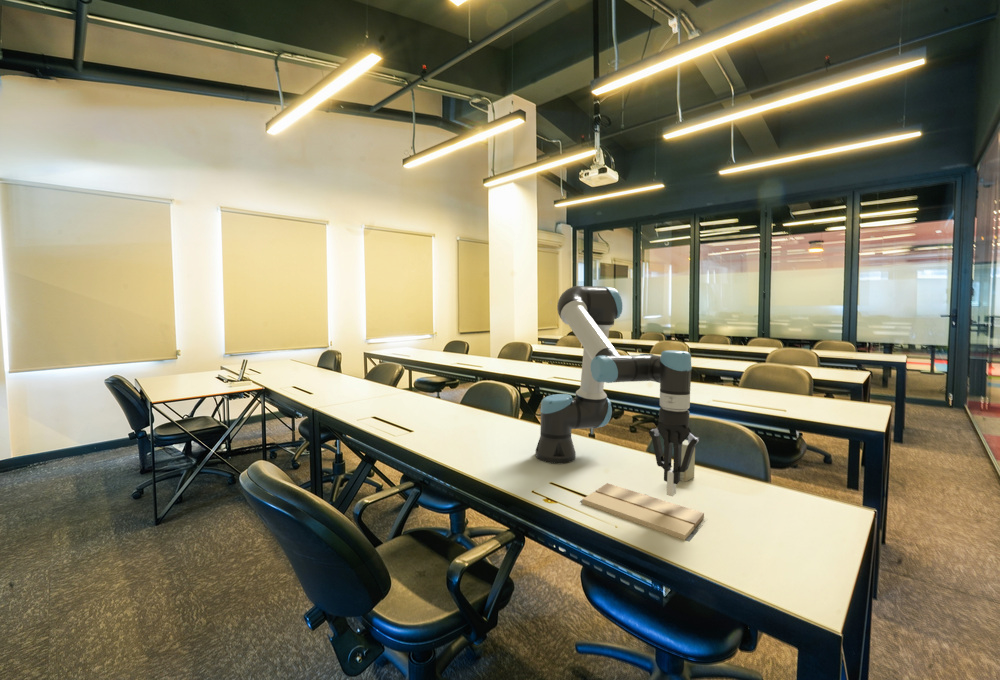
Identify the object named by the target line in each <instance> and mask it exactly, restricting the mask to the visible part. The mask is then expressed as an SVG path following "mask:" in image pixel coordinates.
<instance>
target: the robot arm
mask: <svg viewBox="0 0 1000 680" xmlns="http://www.w3.org/2000/svg"><path fill="white" fill-rule="evenodd" d="M556 309H557V314H558V316H559V318H560V319H561V321H562V323H564V324H565V325H568V326H569V328H570V330H571V331H572V332H573V334H574V335H575V336H576V338H577V340H578V341H579V343H580V344H581V346H582V347H583V353H582V364H581V365H582V366H581V374H580V378H581V379H580V387H579V389H577V390H576V391H575V397H572V395H571V394H567V393H557V394H550V395H547V396H545V397H543V399H542V400H541V403H540V411H539V412H540V435H539V438H538V442H537V444H536V448H535V458H536V459H537V460H539V461H541V462H544V463H548V464H555V465H556V464H568V463H569V464H570V463H571V462H575V460H576V455H577V453H576V449H575V446H574V443H573V439H572V438H573V437H572V430H577V429H580V430H581V429H597V428H602V427H605V426H607V425H608V424H609V422H610V420H611V418H612V413H613V408H612V402H611V400H610V399H609V398H608V395H607V393H606V391H604V388H605V387H604V386H605V383H606V384H611V383H627V382H629V383H630V382H655V383H659V406H660V408H658V409H659V411H658V416H659V417H658V424H657V426H656V428H652V429H650V430H648V434H649V436H650V438H651V441H652V445H653V450H654V455H655V461H656V465H657V467H661V468H662V469H663V481H664V482H666V495H667V496H670V497H674V496H675V495H676V494H677V485H679V484H680V482H681V480H680V472H685V471H686V470H687V469H688V467H689V464H690V461H691V458H692V454H693V451H694V448H695V449H696V446H697V444H699V442H700V440H701V439H700V437H698V436H695V435H694V434H692V432H691V429H690V411H689V409H690V407H691V383H692V382H691V379H692V368H693V366H692V354H691V353H690V352H688V351H685V350H674V349H673V350H672V349H670V350H662V352H660V355H656V354H653V353H641V354H638V355H636V354H635V355H634V354H633V355H632V354H631V355H630V354H627V355H626V354H625V355H624V354H623V355H621V354H620V353H619V352H618V351H617V349H616V348H615V347H614V346H613V344H612V343H611V341H610V340H609V335H610V329H611V328H612V327H613V326H614V325H615V320H617V319H619V318H620V317H621V315H622V312H623V299H622V296H621V294H620V293H619V291H618V290H617V288H614V287H610V286H605V285H604V286H603V285H602V286H593V285H590V286H589V285H587V286H583V285H576V286H575V285H574V286H571V287H569V288H567V289H566V290H565V291H563V293H561V294H560V296H559V298H558V301H557V308H556ZM660 436H661V438H662V439H663V445H662V443H661V442H662V441H661V438H660ZM687 438H688V439H687ZM684 440H688V442H689V444H688V446H687V449H686V452H685V455H684V459H683V462H682V465H681V456H682V444H683V441H684ZM663 447H664V448H663ZM672 453H673V454H672ZM672 458H673V465H672Z"/></svg>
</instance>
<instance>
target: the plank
mask: <svg viewBox="0 0 1000 680" xmlns="http://www.w3.org/2000/svg"><path fill="white" fill-rule="evenodd" d="M595 492H597V493H600V494H603V495H606V496H609V497H612V498H615V499H618V500H621V501H624V502H627V503H630V504H633V505H636V506H639V507H642V508H645V509H648V510H651V511H654V512H657V513H660V514H663V515H666V516H669V517H672V518H675V519H678V520H681V521H684V522H687V523H690V524H693V525H694V529H697V527H698V526H699V525H700V524H701V522H702V521H703V520H704V519H705V512H702V511H699V510H696V509H692V508H689V507H686V506H682V505H680V504H676V503H672V502H670V501H666V500H663V499H659V498H656V497H653V496H650V495H647V494H643V493H641V492H637V491H634V490H631V489H627V488H626V487H625V488H624V487H622V486H618V485H614V484H611V483H608V482H607V483H605V484H603V485H602V486H601V487H599V488H598V489H596V490H595Z"/></svg>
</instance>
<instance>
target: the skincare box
mask: <svg viewBox="0 0 1000 680" xmlns="http://www.w3.org/2000/svg"><path fill="white" fill-rule="evenodd" d="M688 444H689V442H688V439H685V440H684V441H683V444H682V456H681V465H682V462H683V459H684V455H685V452H686V449H687V446H688ZM695 459H696V447H695V448H694V451H693V454H692V458H691V461H690V464H689V467H688V469H687V470H686V471H685V472H680V481H683V482H687V481H689V480H692V479H694V478H695V466H696V465H695V463H696V462H695V461H696V460H695Z"/></svg>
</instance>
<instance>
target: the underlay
mask: <svg viewBox="0 0 1000 680" xmlns="http://www.w3.org/2000/svg"><path fill="white" fill-rule="evenodd" d="M581 499H582V500H580V501H579V503H582V504H584V505H587V506H589V507H592V508H595V509H598V510H600V511H603V512H605V513H606V512H607V513H609V514H612V515H615V516H616V517H620V518H623V519H626V520H627V521H631V522H634V523H636V524H639V525H643V526H645V527H647V528H650V529H653V530H656V531H659V532H661V533H665V534H667V535H670V536H672V537H676V538H679V539H681V540H683V541H687V542H690V541H691V540H692V539H693V538H694V537H695V535H696V533H698V531H700V529H699V527H696V528H694V525H693V524H690V523H687V522H684V521H681V520H678V519H675V518H672V517H669V516H666V515H663V514H660V513H657V512H654V511H651V510H648V509H645V508H642V507H639V506H636V505H633V504H630V503H627V502H624V501H621V500H618V499H615V498H612V497H609V496H606V495H603V494H600V493H597V492H596V491H593V492H591V493H590V494H588V495H586V496H585V497H583V498H581ZM706 521H707V519H704V522H703V521H701V522H700V527H703V525H704V524H705V523H706Z"/></svg>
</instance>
